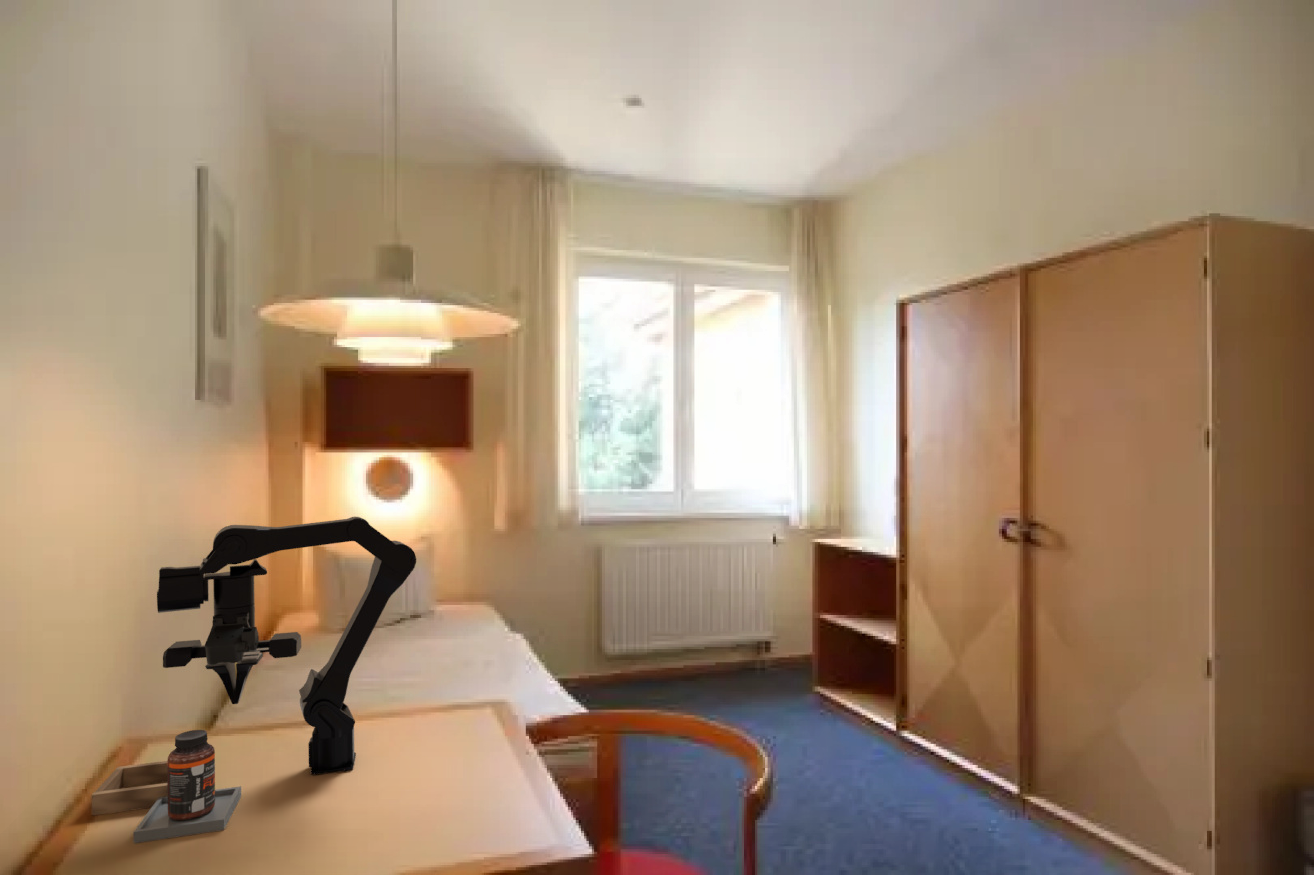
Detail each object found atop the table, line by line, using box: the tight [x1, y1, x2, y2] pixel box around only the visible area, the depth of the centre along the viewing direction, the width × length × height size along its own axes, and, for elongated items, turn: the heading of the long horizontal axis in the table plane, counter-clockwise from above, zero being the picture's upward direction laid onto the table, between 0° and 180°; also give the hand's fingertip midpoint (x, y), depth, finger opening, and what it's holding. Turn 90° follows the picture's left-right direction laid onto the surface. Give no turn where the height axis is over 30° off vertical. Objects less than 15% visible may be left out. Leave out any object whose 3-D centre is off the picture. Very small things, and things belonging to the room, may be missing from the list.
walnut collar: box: [91, 760, 168, 816], centre depth 120 cm, size 10×10×3 cm
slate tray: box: [132, 785, 242, 844], centre depth 112 cm, size 11×11×2 cm
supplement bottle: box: [166, 729, 216, 820], centre depth 112 cm, size 6×6×11 cm
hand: (235, 703), depth 123 cm, fingers closed
